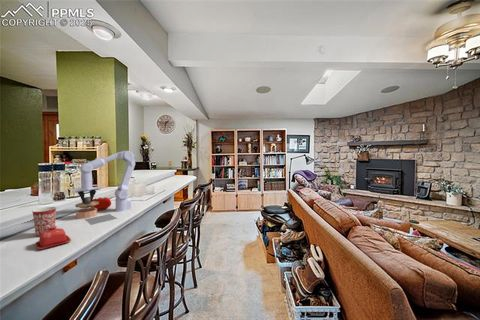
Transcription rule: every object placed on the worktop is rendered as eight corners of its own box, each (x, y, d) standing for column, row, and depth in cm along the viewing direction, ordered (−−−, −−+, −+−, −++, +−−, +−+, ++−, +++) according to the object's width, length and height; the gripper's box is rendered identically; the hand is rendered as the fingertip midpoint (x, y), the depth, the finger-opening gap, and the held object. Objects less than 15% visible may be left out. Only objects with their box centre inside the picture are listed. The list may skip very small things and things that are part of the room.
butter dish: (66, 236, 103) (66, 220, 103) (72, 243, 96) (71, 225, 96) (35, 244, 94) (34, 226, 94) (38, 252, 87) (37, 233, 87)
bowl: (94, 213, 141) (93, 206, 141) (99, 216, 134) (99, 209, 133) (74, 217, 132) (73, 210, 132) (78, 220, 125) (78, 213, 125)
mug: (52, 236, 103) (51, 210, 102) (29, 238, 100) (27, 212, 99) (63, 227, 115) (62, 204, 114) (42, 229, 111) (41, 205, 111)
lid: (95, 203, 141) (95, 194, 141) (101, 205, 133) (101, 196, 133) (73, 207, 131) (72, 198, 131) (78, 210, 123) (78, 200, 123)
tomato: (113, 206, 159) (113, 195, 158) (110, 210, 147) (109, 198, 147) (92, 207, 154) (92, 196, 153) (87, 212, 142) (87, 200, 142)
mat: (109, 214, 137) (109, 214, 137) (117, 219, 128) (117, 218, 128) (84, 220, 126) (84, 219, 126) (91, 225, 117) (91, 224, 117)
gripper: (74, 183, 123) (75, 205, 124) (101, 181, 135) (102, 201, 135) (71, 182, 128) (72, 203, 128) (98, 180, 139) (98, 199, 140)
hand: (87, 202), depth 132 cm, fingers closed on lid, 4 cm apart
